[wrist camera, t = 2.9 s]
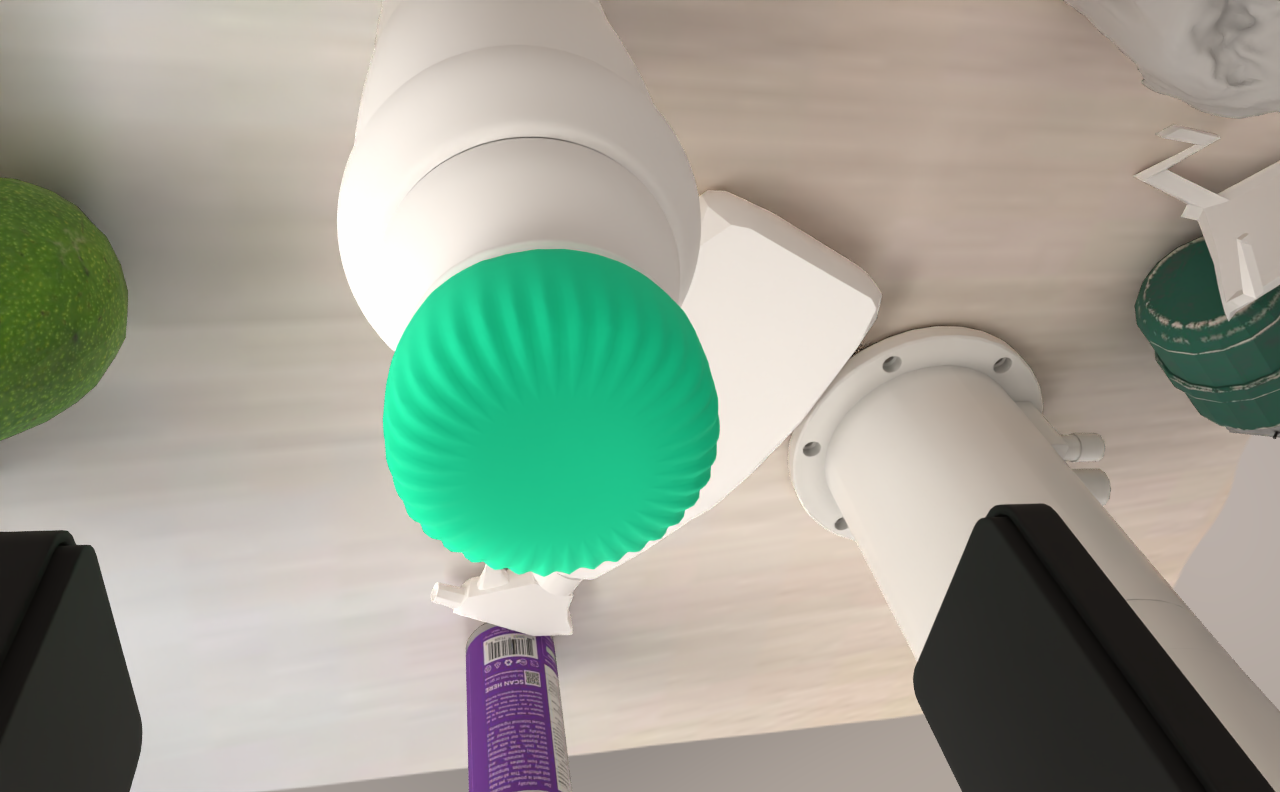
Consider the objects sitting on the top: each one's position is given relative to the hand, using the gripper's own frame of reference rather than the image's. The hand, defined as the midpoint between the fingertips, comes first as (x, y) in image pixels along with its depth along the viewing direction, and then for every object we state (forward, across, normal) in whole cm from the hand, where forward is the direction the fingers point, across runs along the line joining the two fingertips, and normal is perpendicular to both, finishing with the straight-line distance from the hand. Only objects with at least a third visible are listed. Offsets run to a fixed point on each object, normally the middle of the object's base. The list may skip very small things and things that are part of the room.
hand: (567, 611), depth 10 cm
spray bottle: (+28, -7, +18) cm, 34 cm away
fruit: (+28, +16, +9) cm, 33 cm away
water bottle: (+28, 0, 0) cm, 28 cm away
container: (+28, -2, +32) cm, 43 cm away
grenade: (+24, -30, +8) cm, 39 cm away
